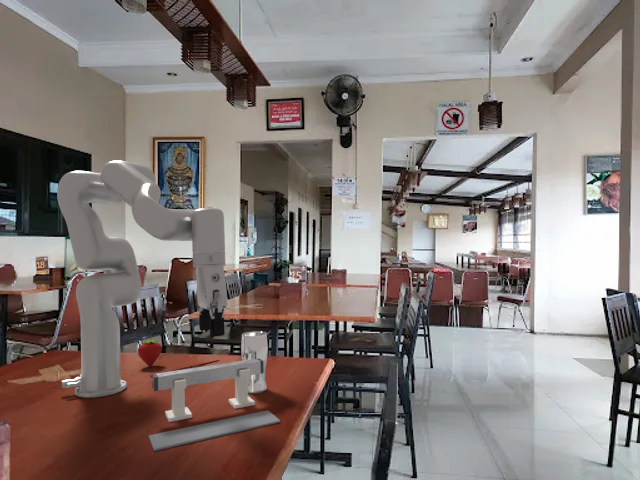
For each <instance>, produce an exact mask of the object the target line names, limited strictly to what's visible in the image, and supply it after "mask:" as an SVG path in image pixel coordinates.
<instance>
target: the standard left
mask: <svg viewBox="0 0 640 480" xmlns="http://www.w3.org/2000/svg"><path fill="white" fill-rule="evenodd" d="M185 389H187V386H186V379H182V380H176V381H174V388H171V409H169V410H164V414H165V418H166V419H167V421H168V422H169V423H171V422H177V421H182V420H186V419H191V418H193V414H192V412H191V410H190V409H189V408H188V407H187V406H186V405H185V404H186V403H185V402H186V401H185V399H186V398H185V397H186V395H185V393H186V392H185Z"/></svg>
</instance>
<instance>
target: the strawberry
mask: <svg viewBox="0 0 640 480" xmlns="http://www.w3.org/2000/svg"><path fill="white" fill-rule="evenodd" d="M149 337H150V338H151V340H150V339H148V340H146V341H142V342H141V343H142V344H141V345H140V346H138V348H137V354H138V357H139V358H140V359H141V360H142V362H144V363H145V364H146V366H148V367H152V366H154V363H155V362H156V361H157V359H158V358H159V357H160V355H161V353H162V349H163V348H162V344H160V343H159V342H158V340H153V337H152V336H151V335H149Z"/></svg>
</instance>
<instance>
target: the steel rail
mask: <svg viewBox="0 0 640 480" xmlns="http://www.w3.org/2000/svg"><path fill="white" fill-rule="evenodd" d="M245 369H250V375H255V374H261V373H264V363H263V360H261V359H259V358H258V359H251V360H244V361H242V360H238V361H231V362H224V363H218V364H212V365H206V366H205V365H203V366H198V367H194V368H190V369H184V370H177V371H172V370H169V371H170V372H167V371H163V372H164V373H163V372H159V373H158V372H157V373H152V374H151V375H152V377H151V379H152V380H151V381H152V382H151V383H152V384H151V386H152V387H151V388H152V390H153V391H154V392H158V391H163V390H164V391H165V390H172V388H174V381H176V380H182V379H186V387H188V386H194V385H200V384H205V383H213V382H217V381H223V380H230V379H235V378H237V377H239V370H245Z"/></svg>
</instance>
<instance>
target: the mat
mask: <svg viewBox="0 0 640 480" xmlns="http://www.w3.org/2000/svg"><path fill="white" fill-rule="evenodd" d="M278 423H281V420H280V419H279V418H278V417H276V415H274V414H273V413H272V412H271V411H270V410H264V411H263V410H262V411H258V412H253V413H249V414H244V415H239V416H235V417H234V416H233V417H230V418H225V419H220V420H216V421H211V422H205V423H201V424H197V425H196V424H195V425H191V426H186V427H183V428H178V429H173V430H168V431H163V432H158V433H154V434H149V435H148V438H149V442H150V444H151V445H150V446H151V447H152V450H153V452H156V451H161V450H166V449H170V448H174V447H178V446H182V445H187V444H192V443H195V442H200V441H204V440H210V439H213V438H217V437H222V436H227V435H231V434H235V433H240V432H243V431H248V430H253V429H256V428H262V427H267V426H269V425H274V424H278Z"/></svg>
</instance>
